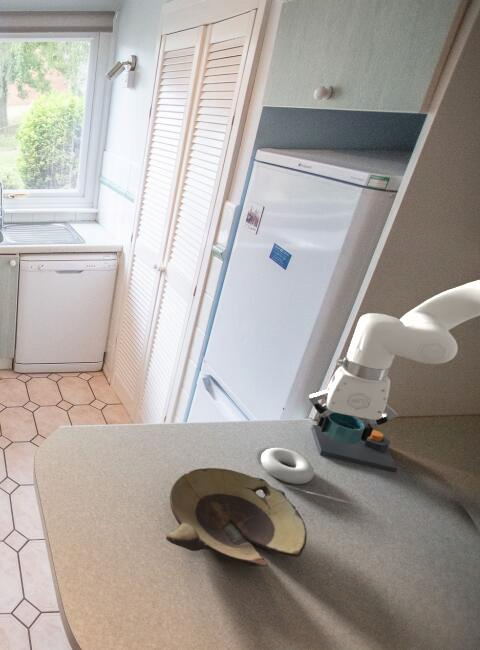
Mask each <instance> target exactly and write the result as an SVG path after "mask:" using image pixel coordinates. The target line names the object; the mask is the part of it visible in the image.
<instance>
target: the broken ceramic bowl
mask: <svg viewBox="0 0 480 650" xmlns="http://www.w3.org/2000/svg"><path fill="white" fill-rule="evenodd" d="M258 491H262V492H263V494H264V496H263V497H262V496H260V495H258V494H257V492H258ZM169 503H170V509H171V512H172V514H173V516H174V518H175V520H176V522H177V523H178V525H179V526H177V528H176V529H175V530H173V531H171V532H169V533H168V534H167V535H166V536H165V538H166V541H168V542H169V543H170V544H173V545H174V546H177V547H181V548H184V549H185V550H186V549H187V550H189V551H191V552H197V551H198V552H199V551H202V550H205V551H209V552H211V553H214V554H215V555H217V556H219V557H221V558H223V559H225V560H227V561H231V562H233V563H237V564H241V565H246V566H250V567H252V566H253V567H258V568H259V567H260V568H261V567H263V568H265V567H269V563H268V562H267V561H266V560H265V559H264V558H263V557H262V555H261V554H260V553H259V552H258V551H257V550H256V548H255V547H254V545H256V546H257V547H259V548H263V549H266V550H268V551H270V552H273V553H277V554H281V555H285V556H288V557H292V558H299V557H300V556H301V554H302V553H303V551H304V549H305V548H306V544H307V538H308V537H307V535H308V534H307V528H306V524H305V521H304V519H303V517H302V515H301V514H300V513H299V510H297V509H296V506H294V504H293V503H292V502H291V501H290V500H289V499H288V498H287V496H286V493H285V492H284V491H283V490H281V489H278V488H276V487H273V486H271V485H270V484H269V483H268V482H267V481H266V480H265V479H264V478H261V477H254V476H252V475H249V474H247V473H243V472H240V471H235V470H232V469H227V468H217V467H205V468H204V467H203V468H196V469H192V470H190V471H188V472H187V473H184V474H182V475H181V476H179V477H178V478H177V480H175V481H174V483H173V485H172V487H171V489H170V494H169ZM230 522H232V523H234V525H235V527H236V528H237V530H239V532H240V533H241V535H243V537H244V538H245V539H247V540H248V541H245V542H243V543H241V544H234V543H236V542H238V541H239V540H240V538H238V539H236V540H234V539H233V540H232V541H234V543H233V542H232V541H231V539H230V538H229V536H228V534H227V533H226V532H225V531H224V528H225V527H226V526H227V525H228V524H229V523H230ZM237 540H238V541H237Z"/></svg>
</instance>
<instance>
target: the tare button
mask: <svg viewBox="0 0 480 650" xmlns="http://www.w3.org/2000/svg"><path fill="white" fill-rule="evenodd" d="M383 435H384V434H383V433H382V432H381V431H378V430H375V429H373V431H372V433H371V436H370V437H368V438H369V439H371V440H374V441H378V442H381V440H382V438H383Z"/></svg>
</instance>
